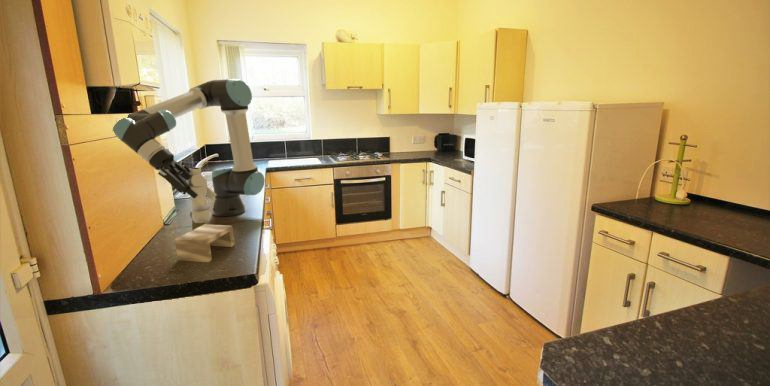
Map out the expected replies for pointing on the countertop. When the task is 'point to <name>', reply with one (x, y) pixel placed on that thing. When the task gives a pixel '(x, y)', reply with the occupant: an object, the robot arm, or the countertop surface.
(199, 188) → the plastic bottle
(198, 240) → the birch shelf
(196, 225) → the cork
